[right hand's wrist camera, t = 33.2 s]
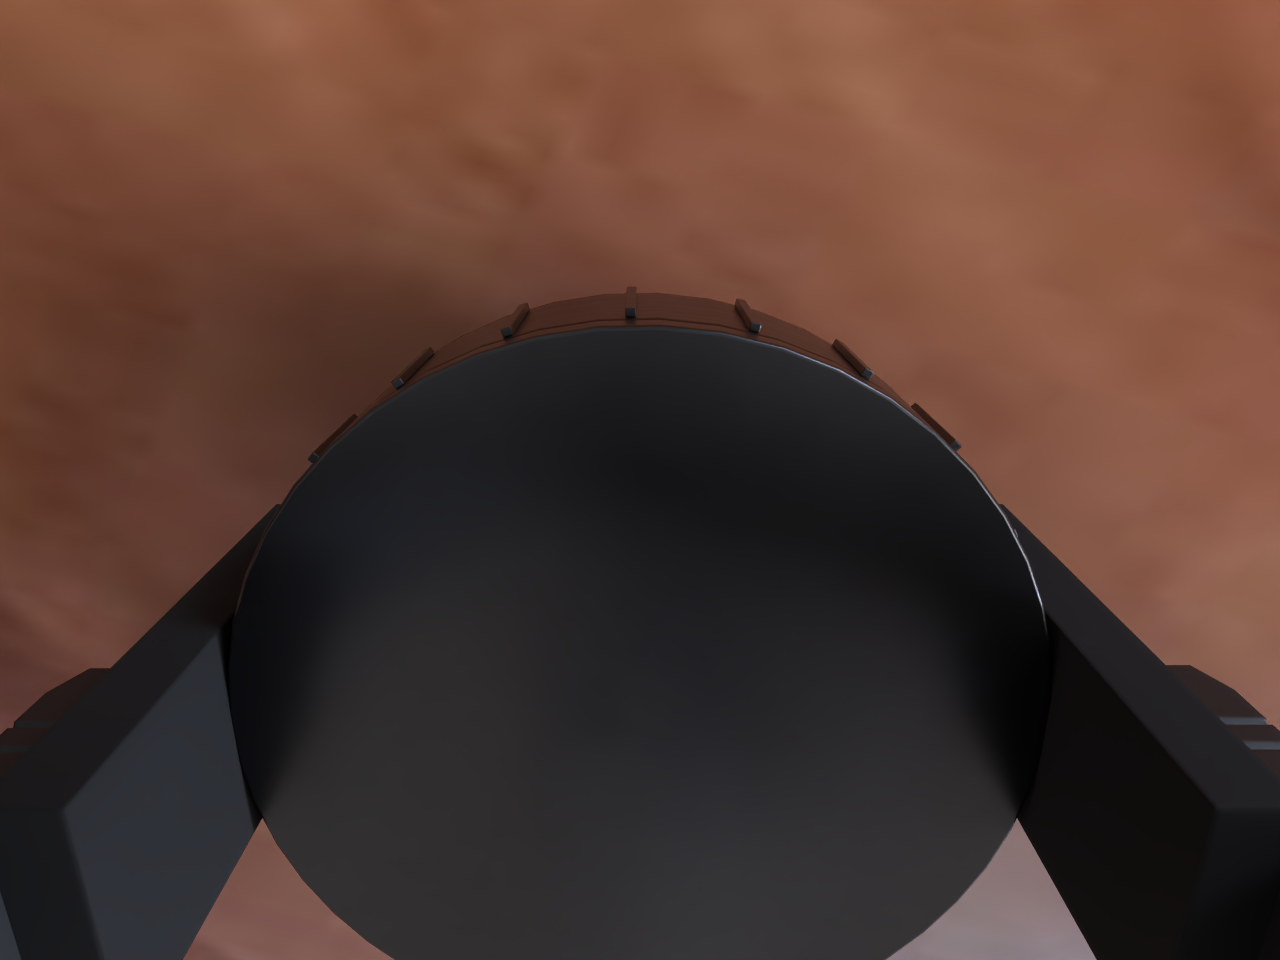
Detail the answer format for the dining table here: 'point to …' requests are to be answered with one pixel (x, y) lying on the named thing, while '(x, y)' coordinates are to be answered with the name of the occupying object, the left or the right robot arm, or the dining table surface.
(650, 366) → the lid
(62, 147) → the dining table surface
